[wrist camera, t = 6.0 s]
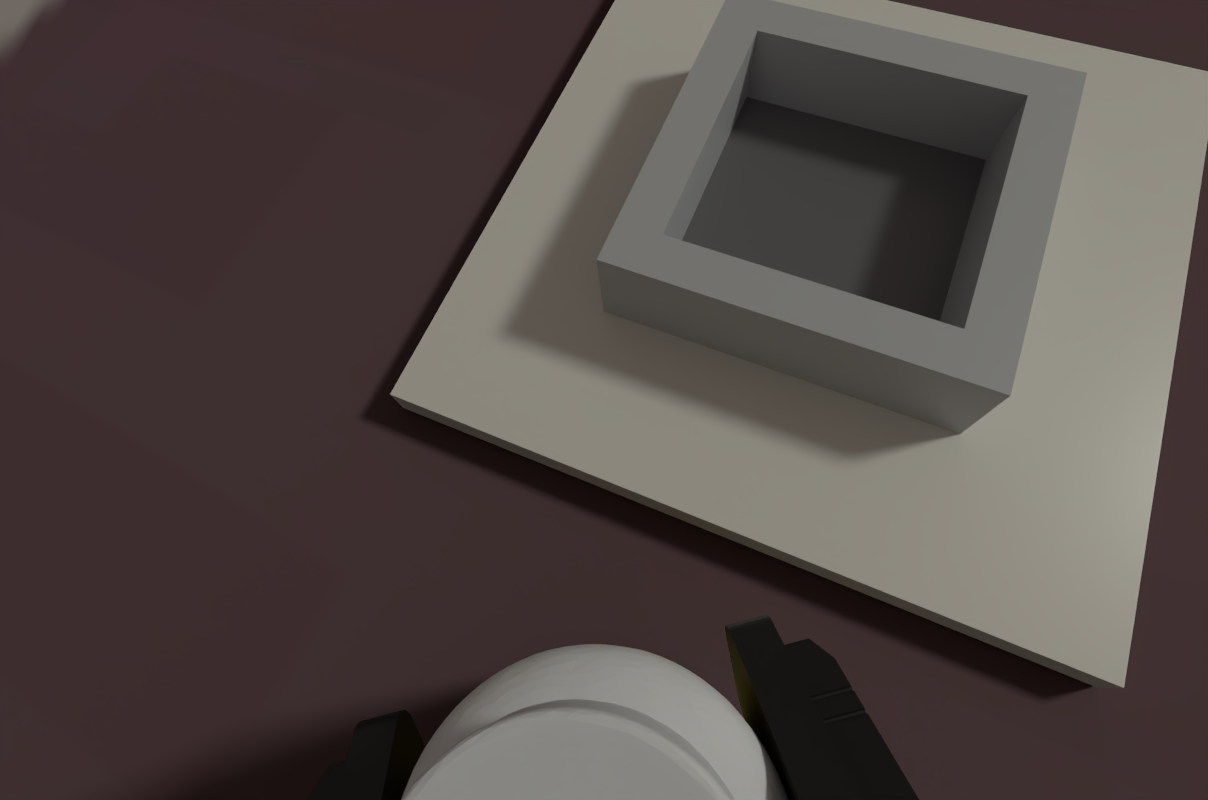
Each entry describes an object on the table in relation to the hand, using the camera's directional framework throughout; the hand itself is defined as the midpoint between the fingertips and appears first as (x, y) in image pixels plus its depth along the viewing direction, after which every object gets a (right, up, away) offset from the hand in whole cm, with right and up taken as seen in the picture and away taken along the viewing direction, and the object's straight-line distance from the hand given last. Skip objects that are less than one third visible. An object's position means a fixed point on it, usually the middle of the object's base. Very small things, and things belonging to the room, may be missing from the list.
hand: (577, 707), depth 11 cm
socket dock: (+7, +10, +8) cm, 14 cm away
